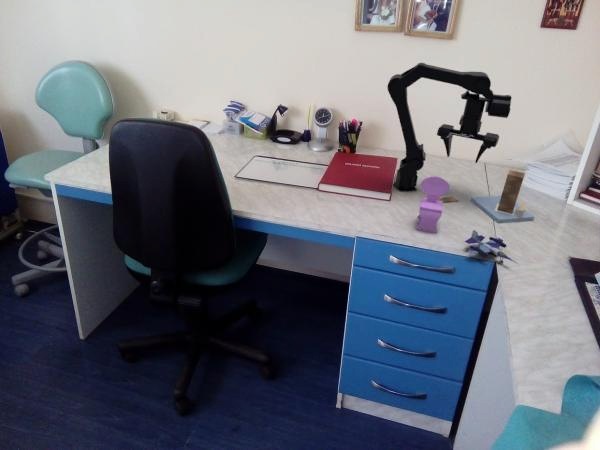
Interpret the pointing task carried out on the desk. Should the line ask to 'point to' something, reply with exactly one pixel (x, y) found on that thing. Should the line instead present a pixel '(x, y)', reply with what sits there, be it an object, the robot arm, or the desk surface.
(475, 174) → the desk surface
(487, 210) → the board
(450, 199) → the wing slat
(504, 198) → the block
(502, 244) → the toy airplane
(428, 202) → the toy chair
